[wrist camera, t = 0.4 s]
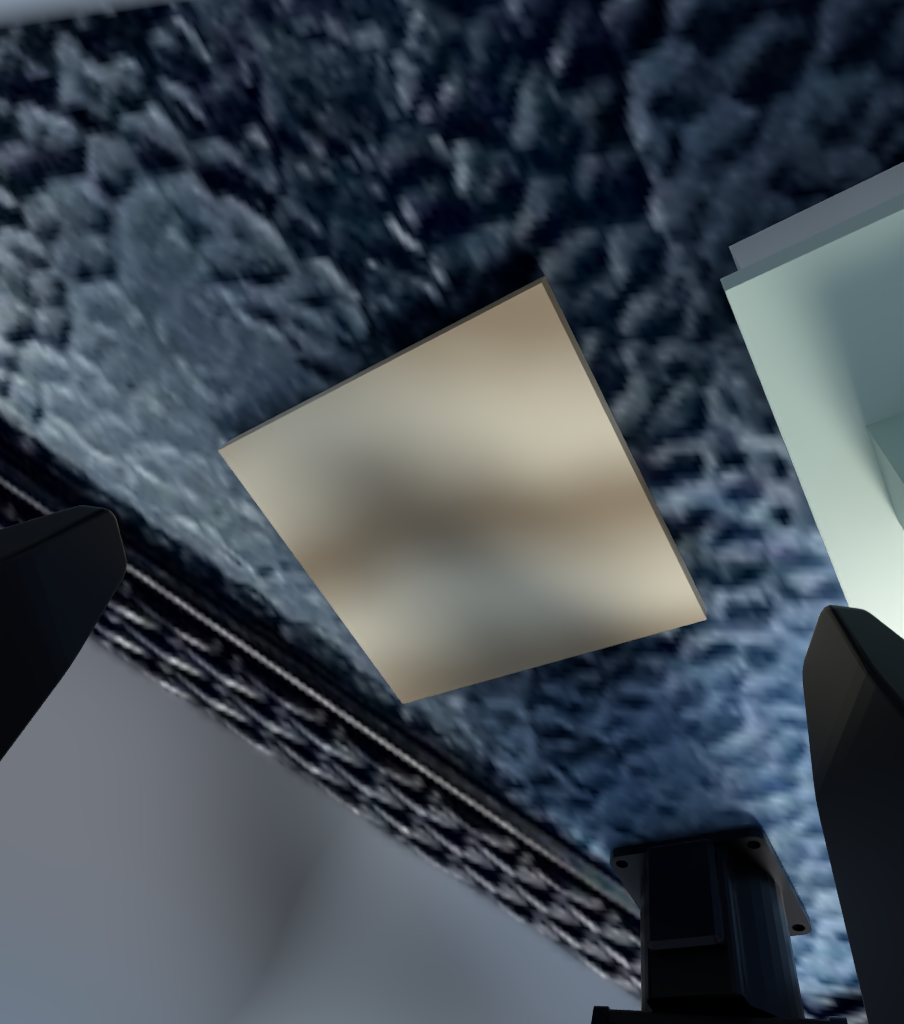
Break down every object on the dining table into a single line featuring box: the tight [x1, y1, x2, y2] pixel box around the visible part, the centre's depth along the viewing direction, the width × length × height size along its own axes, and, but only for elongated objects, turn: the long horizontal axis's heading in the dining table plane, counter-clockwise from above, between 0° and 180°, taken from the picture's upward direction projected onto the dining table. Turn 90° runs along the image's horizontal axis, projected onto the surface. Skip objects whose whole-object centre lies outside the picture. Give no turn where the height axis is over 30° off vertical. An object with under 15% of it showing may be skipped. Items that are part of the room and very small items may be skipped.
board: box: [218, 276, 707, 704], centre depth 24 cm, size 12×12×1 cm
